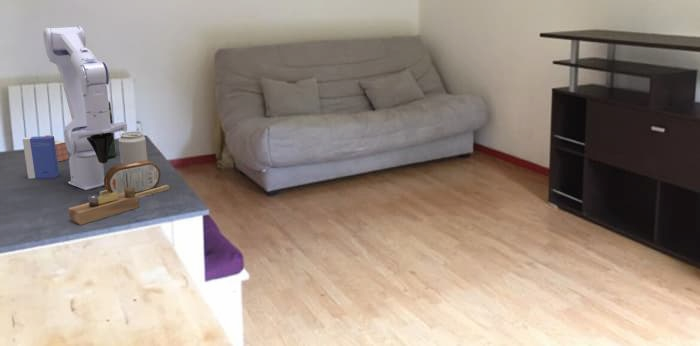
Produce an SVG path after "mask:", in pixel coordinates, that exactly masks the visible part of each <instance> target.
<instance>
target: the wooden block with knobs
mask: <svg viewBox="0 0 700 346" xmlns="http://www.w3.org/2000/svg"><path fill="white" fill-rule="evenodd" d="M124 191H125V192H124V193H121V194H118V200H114V201H110V202H107V203H103V204H99V205H98V206H89V202H85V203H82V204H80V205H75V206H72V207H69V208H68V216H69V217H68V218H69V221H71V222H73V223H76V224H78V225H80V226H82V225H85V224H89V223H92V222H96V221H99V220H102V219H105V218H108V217H112V216H115V215H118V214H121V213H125V212H127V211H131V210H134V209H138V208H140V200H139V199H140V198H138V196H137V195H135V190H134V188H133V187H128V188H125V189H124Z"/></svg>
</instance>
